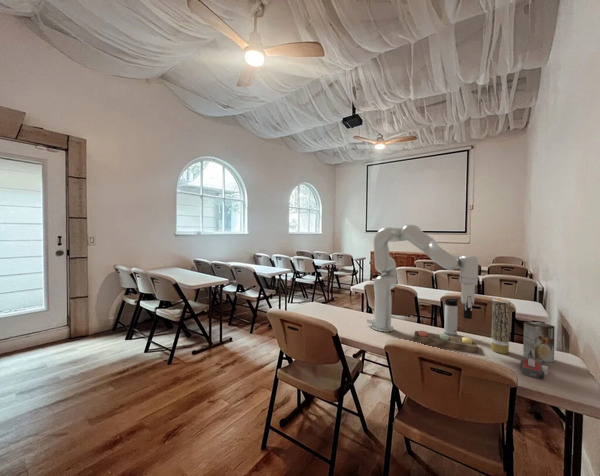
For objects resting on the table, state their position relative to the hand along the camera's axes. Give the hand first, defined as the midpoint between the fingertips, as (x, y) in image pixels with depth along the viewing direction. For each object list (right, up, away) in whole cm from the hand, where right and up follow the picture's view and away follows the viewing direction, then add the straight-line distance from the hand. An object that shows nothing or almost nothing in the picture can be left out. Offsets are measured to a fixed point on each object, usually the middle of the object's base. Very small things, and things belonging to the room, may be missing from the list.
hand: (467, 317), depth 136 cm
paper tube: (+14, -16, -3) cm, 21 cm away
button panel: (-9, -15, +5) cm, 18 cm away
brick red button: (-18, -13, +9) cm, 24 cm away
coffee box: (+25, -16, -11) cm, 32 cm away
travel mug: (+2, -15, +19) cm, 24 cm away
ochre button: (0, -14, 0) cm, 14 cm away
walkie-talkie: (+15, -16, -21) cm, 30 cm away
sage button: (-9, -13, +5) cm, 17 cm away
